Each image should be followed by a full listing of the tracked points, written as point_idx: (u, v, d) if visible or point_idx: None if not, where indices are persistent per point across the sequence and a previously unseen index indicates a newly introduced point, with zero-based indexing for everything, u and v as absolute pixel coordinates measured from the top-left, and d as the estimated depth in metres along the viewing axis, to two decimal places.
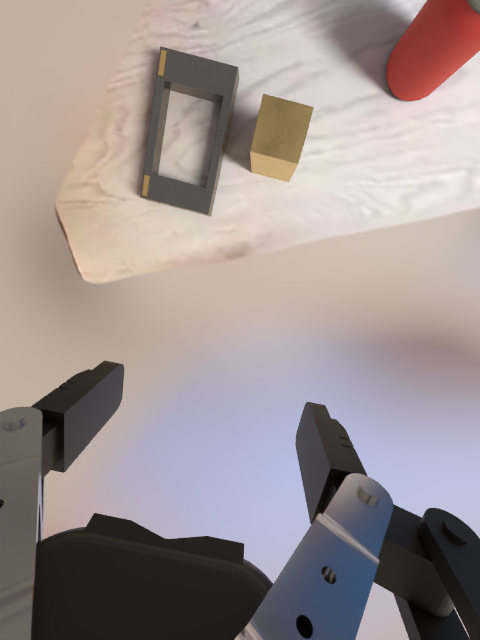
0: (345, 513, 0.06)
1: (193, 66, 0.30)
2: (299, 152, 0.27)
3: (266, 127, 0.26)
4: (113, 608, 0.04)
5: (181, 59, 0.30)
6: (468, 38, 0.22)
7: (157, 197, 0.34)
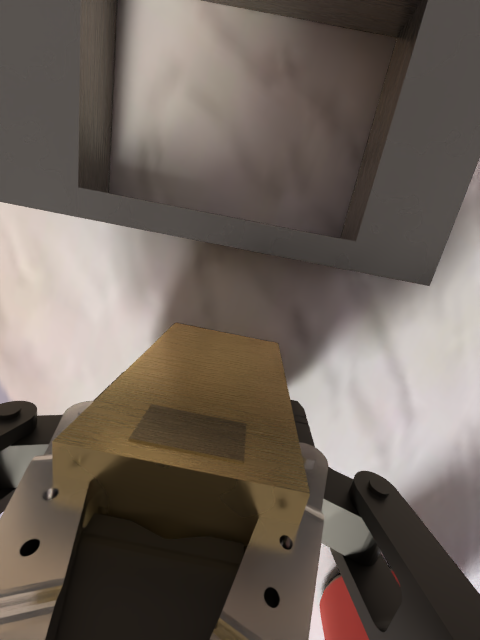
0: None
1: (459, 121, 0.08)
2: None
3: (168, 507, 0.05)
4: (113, 608, 0.04)
5: None
6: None
7: None
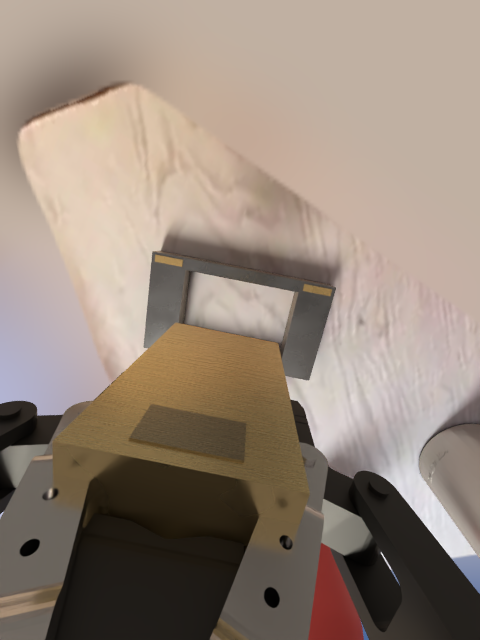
0: None
1: (312, 329, 0.24)
2: None
3: (168, 507, 0.05)
4: (113, 608, 0.04)
5: (320, 314, 0.23)
6: None
7: (155, 277, 0.24)
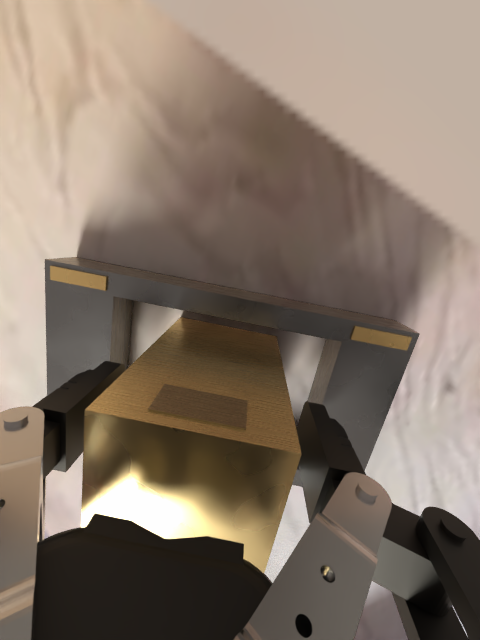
0: (343, 512, 0.06)
1: (365, 410, 0.12)
2: None
3: (181, 467, 0.06)
4: (113, 608, 0.04)
5: (383, 384, 0.12)
6: None
7: (56, 310, 0.12)
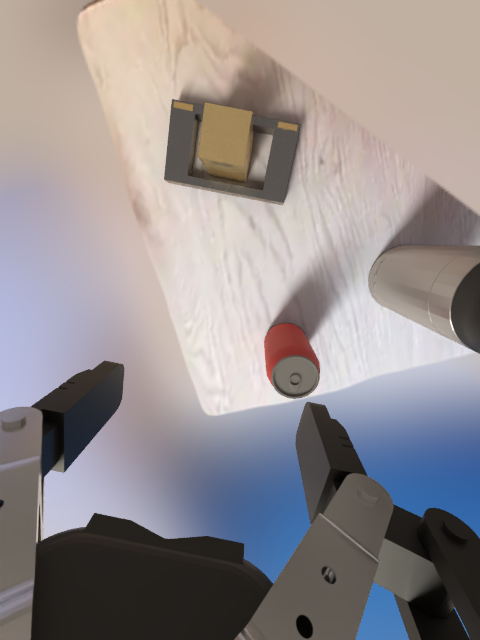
0: (345, 513, 0.06)
1: (285, 159, 0.34)
2: (207, 156, 0.29)
3: (225, 118, 0.28)
4: (113, 608, 0.04)
5: (290, 146, 0.33)
6: (267, 366, 0.33)
7: (173, 120, 0.33)
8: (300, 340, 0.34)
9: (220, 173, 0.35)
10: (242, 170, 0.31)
